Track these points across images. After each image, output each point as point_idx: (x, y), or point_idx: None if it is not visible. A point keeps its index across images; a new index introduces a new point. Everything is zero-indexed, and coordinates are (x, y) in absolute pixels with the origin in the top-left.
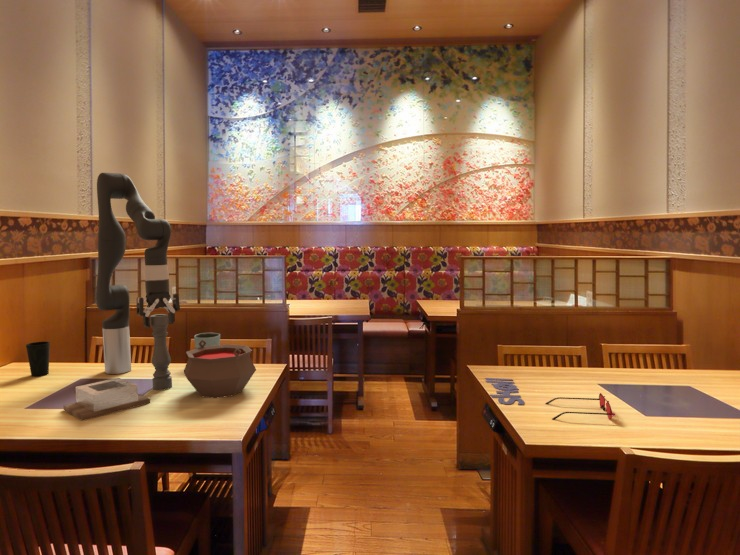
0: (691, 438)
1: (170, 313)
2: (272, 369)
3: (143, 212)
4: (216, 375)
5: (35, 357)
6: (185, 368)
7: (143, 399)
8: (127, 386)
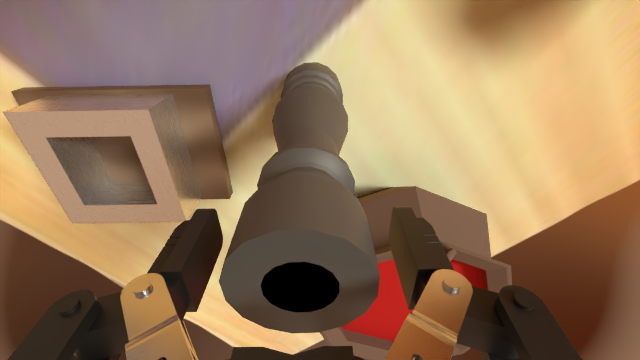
0: None
1: (416, 294)
2: (617, 172)
3: None
4: None
5: None
6: None
7: (214, 196)
8: (160, 217)
